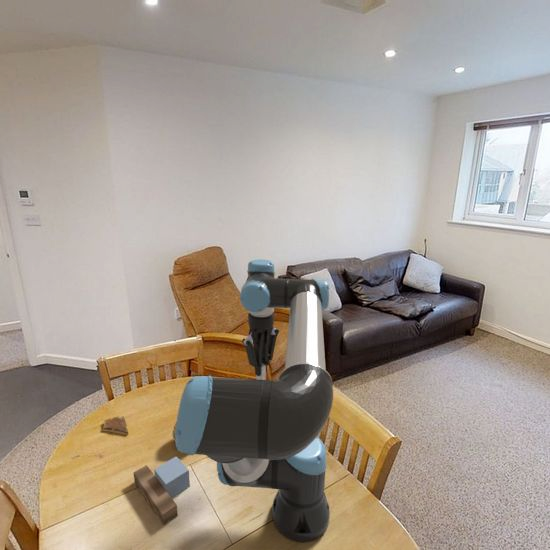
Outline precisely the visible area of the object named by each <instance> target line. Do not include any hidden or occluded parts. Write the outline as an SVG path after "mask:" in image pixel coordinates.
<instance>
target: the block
mask: <svg viewBox="0 0 550 550" xmlns="http://www.w3.org/2000/svg"><path fill="white" fill-rule="evenodd" d="M153 473H154V475H155V477H156V478H157V479H158V481H159V482H160V483H161V485H162V486H163V487H164V489H165V490H166V491H167V492H168V494H169V495H170V496H171V498H172V499H173V498H175V497H176V496H178V495H179V494H181V493H182V492H184V491H185V490H186V489H189V488H190V487H191V486H190V485H191V482H190V470H189V468H188V467H187V466H186V465H185V464H184V463H183V462H182V461H181V460H180V459H179V457H178V456H174V457H172V458H171V459H168V460H167V461H165V462H164V463H162V464H160V465H159V466H157V467H155V468H154V469H153Z"/></svg>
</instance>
